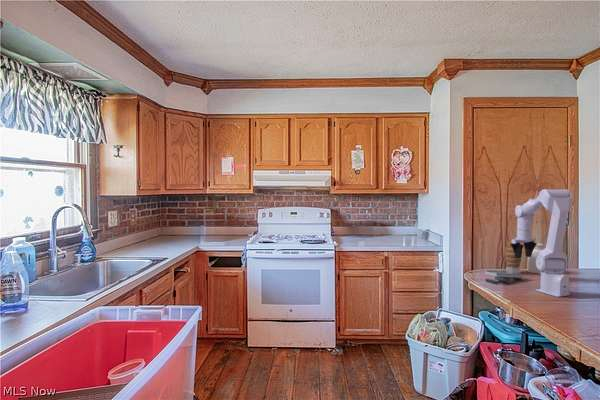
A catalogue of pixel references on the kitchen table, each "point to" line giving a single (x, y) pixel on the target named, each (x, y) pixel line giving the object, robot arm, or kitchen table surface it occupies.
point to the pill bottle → (534, 259)
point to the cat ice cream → (511, 256)
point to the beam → (502, 273)
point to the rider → (512, 270)
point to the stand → (503, 279)
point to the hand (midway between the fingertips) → (523, 257)
